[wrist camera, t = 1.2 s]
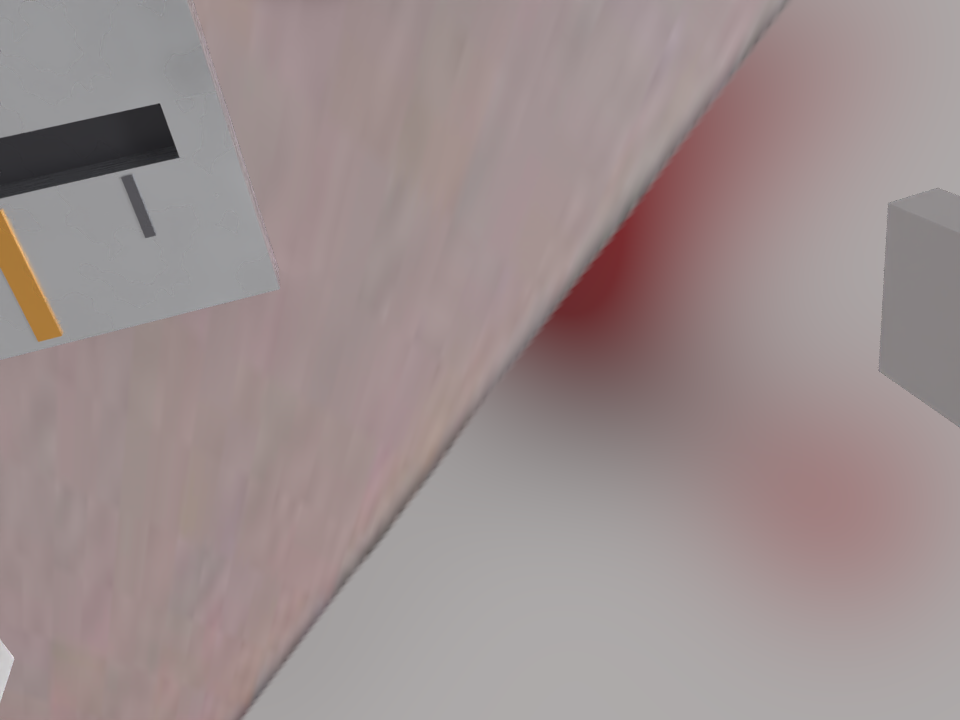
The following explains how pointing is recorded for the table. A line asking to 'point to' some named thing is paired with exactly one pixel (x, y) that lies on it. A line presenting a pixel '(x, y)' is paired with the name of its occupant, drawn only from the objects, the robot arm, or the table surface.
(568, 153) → the table surface
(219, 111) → the console
